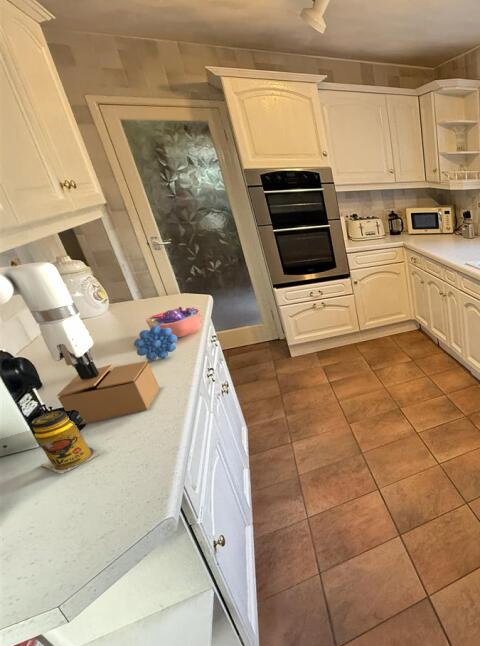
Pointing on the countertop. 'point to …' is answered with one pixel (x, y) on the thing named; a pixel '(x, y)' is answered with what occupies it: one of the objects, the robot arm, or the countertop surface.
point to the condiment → (61, 442)
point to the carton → (114, 393)
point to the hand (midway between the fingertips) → (90, 376)
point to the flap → (84, 382)
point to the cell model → (177, 321)
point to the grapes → (155, 342)
